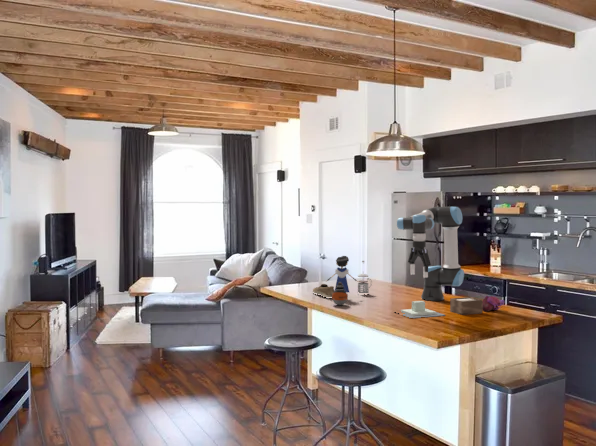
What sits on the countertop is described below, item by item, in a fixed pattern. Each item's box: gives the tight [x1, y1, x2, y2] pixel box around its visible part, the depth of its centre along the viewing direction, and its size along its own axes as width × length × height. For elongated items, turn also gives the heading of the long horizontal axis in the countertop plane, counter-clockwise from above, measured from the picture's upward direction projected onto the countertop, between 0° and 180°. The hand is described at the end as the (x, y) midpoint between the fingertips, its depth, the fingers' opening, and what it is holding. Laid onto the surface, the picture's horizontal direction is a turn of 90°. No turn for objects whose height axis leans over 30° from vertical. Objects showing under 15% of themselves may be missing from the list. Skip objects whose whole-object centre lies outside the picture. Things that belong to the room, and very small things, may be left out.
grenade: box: [331, 282, 349, 306], centre depth 335 cm, size 11×10×15 cm
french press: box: [357, 260, 373, 293], centre depth 378 cm, size 10×12×25 cm
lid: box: [400, 300, 437, 316], centre depth 307 cm, size 12×16×7 cm
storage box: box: [449, 296, 483, 316], centre depth 312 cm, size 11×15×8 cm
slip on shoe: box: [312, 283, 335, 298], centre depth 373 cm, size 30×11×9 cm, turn 16°
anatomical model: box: [482, 295, 505, 312], centre depth 319 cm, size 12×10×15 cm
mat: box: [402, 311, 446, 319], centre depth 307 cm, size 20×24×1 cm
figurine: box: [325, 255, 359, 293], centre depth 361 cm, size 23×9×30 cm, turn 86°
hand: (418, 276), depth 307 cm, fingers open, 13 cm apart
